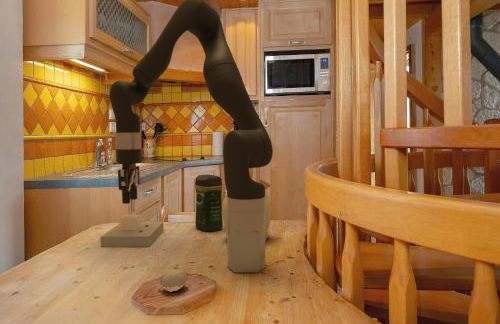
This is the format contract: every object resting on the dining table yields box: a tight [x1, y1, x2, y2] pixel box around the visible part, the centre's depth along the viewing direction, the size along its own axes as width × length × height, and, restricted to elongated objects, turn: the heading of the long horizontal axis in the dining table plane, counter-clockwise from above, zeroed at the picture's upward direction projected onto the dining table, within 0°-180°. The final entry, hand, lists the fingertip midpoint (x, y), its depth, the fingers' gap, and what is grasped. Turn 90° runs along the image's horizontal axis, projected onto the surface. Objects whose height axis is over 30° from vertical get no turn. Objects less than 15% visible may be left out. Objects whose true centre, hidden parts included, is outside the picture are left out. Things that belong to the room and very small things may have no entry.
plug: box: [120, 214, 141, 231], centre depth 121 cm, size 4×4×6 cm
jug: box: [222, 168, 273, 241], centre depth 119 cm, size 15×16×25 cm
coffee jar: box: [194, 173, 224, 232], centre depth 132 cm, size 10×8×19 cm
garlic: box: [159, 263, 189, 288], centre depth 81 cm, size 6×5×5 cm
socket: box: [100, 221, 164, 248], centre depth 121 cm, size 18×14×4 cm
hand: (130, 201), depth 120 cm, fingers open, 7 cm apart
